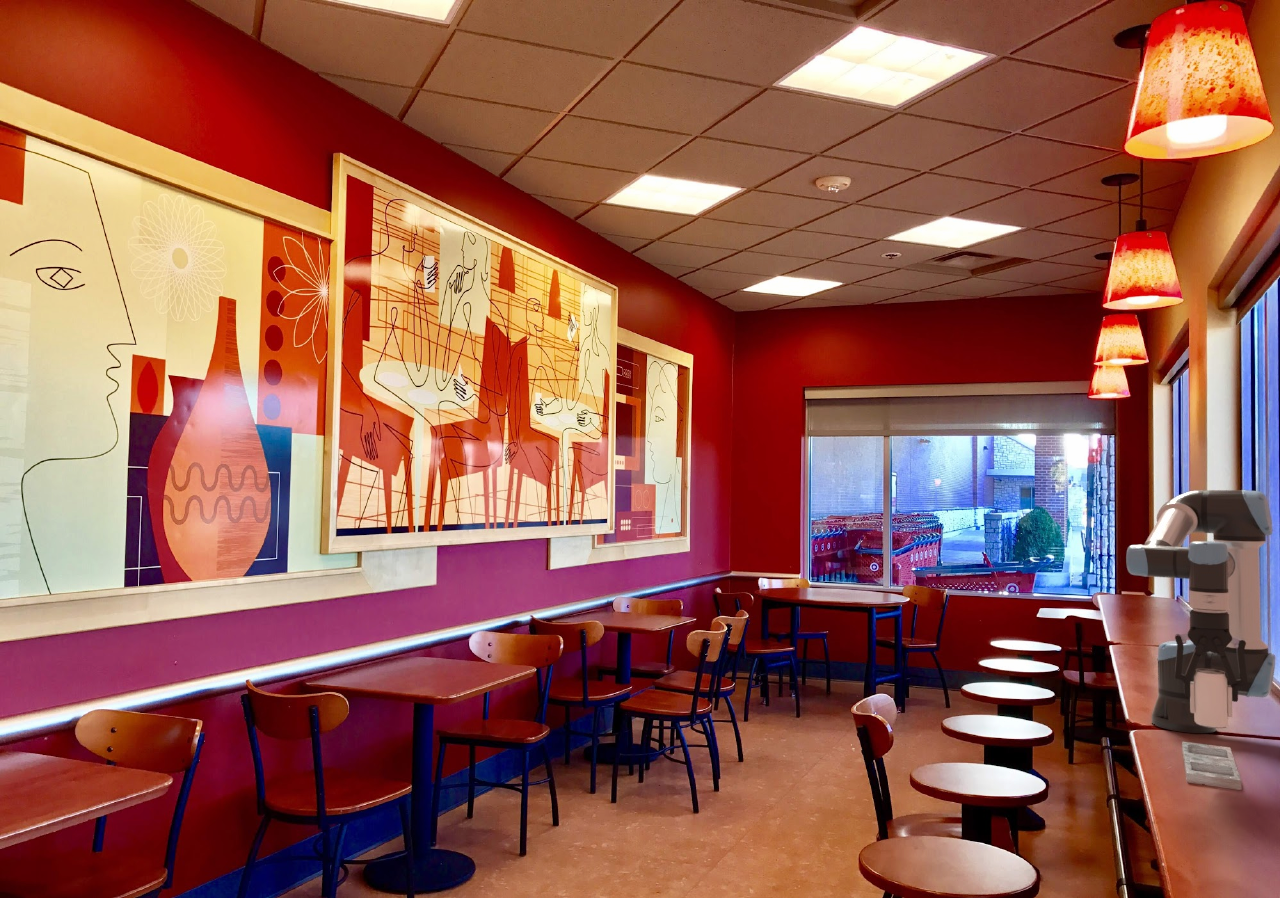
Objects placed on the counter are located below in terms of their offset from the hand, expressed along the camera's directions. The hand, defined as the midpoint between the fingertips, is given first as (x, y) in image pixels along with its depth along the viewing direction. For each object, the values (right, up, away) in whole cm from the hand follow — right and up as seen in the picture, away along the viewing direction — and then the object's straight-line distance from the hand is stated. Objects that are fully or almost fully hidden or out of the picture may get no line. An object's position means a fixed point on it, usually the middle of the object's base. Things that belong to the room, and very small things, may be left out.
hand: (1211, 713), depth 203 cm
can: (0, -3, 0) cm, 3 cm away
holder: (+4, -14, +6) cm, 16 cm away
